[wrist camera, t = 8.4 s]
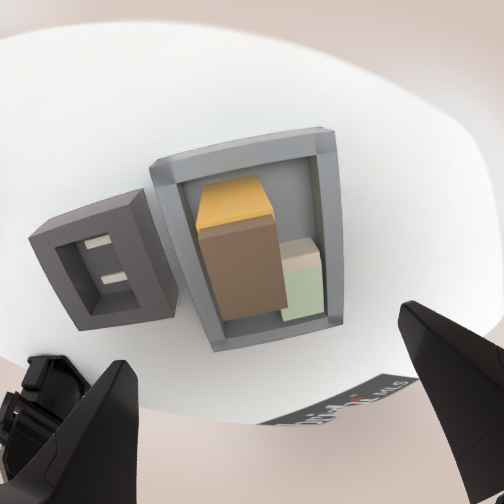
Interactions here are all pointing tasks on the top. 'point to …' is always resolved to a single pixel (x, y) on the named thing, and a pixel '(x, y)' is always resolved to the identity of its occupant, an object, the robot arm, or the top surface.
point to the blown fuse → (241, 247)
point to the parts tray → (285, 212)
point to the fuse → (302, 278)
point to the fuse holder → (107, 263)
